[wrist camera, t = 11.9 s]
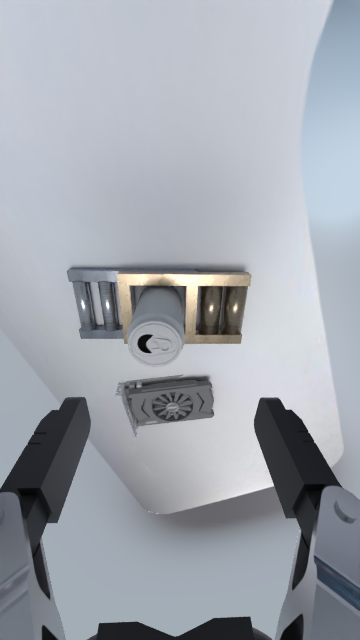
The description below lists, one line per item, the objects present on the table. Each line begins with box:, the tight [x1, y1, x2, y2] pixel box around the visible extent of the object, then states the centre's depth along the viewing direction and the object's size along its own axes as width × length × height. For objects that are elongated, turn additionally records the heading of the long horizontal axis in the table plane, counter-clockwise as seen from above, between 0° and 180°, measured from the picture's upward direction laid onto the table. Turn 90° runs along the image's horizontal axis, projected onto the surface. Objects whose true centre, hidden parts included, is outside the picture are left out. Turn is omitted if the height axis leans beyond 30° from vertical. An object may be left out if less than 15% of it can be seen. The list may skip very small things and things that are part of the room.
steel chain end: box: [67, 268, 197, 339], centre depth 33 cm, size 11×18×2 cm, turn 89°
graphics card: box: [115, 375, 214, 437], centre depth 42 cm, size 17×4×12 cm
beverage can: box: [127, 285, 185, 367], centre depth 29 cm, size 6×6×12 cm
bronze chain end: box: [117, 271, 251, 344], centre depth 33 cm, size 11×18×3 cm, turn 89°
